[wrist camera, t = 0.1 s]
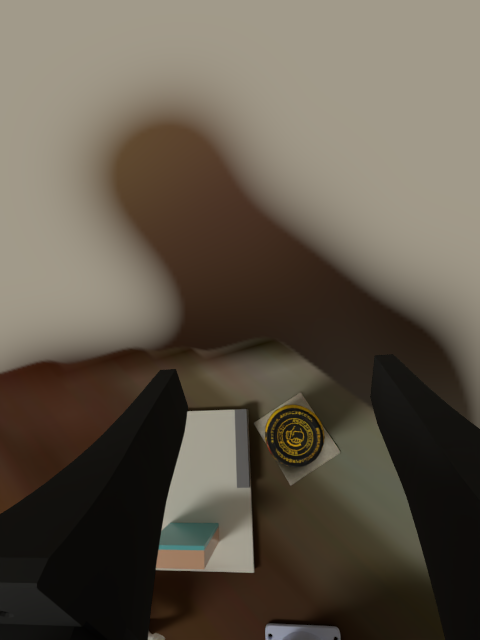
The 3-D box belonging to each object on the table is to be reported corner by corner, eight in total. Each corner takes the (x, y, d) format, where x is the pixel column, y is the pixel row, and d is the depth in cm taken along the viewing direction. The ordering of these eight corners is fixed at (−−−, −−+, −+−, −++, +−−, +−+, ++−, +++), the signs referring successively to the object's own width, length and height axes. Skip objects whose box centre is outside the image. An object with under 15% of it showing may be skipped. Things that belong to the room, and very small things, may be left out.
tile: (218, 542, 39) (204, 569, 32) (169, 541, 40) (145, 567, 33) (218, 522, 39) (204, 545, 33) (170, 522, 40) (146, 544, 33)
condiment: (300, 392, 43) (305, 385, 31) (340, 452, 40) (361, 468, 29) (253, 423, 43) (240, 427, 31) (290, 485, 40) (291, 514, 29)
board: (254, 569, 38) (252, 576, 37) (124, 566, 40) (117, 573, 39) (248, 409, 43) (246, 409, 41) (132, 413, 45) (126, 413, 43)
